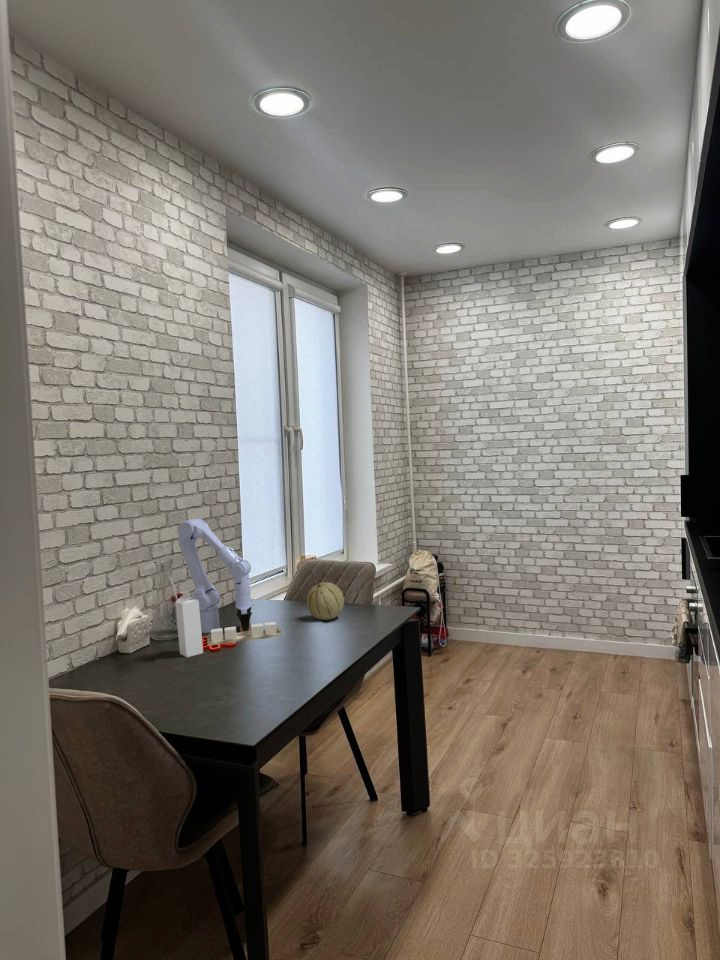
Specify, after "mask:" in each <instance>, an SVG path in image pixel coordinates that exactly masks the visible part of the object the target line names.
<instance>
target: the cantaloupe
mask: <svg viewBox="0 0 720 960" xmlns="http://www.w3.org/2000/svg"><path fill="white" fill-rule="evenodd" d="M344 598H345V597H344V595H343V592H342V590H341V589H340V588H339V587H338V586H337V585H336V584H334V583H332V582H328V581H327V582H326V581H325V582H324V581H323V582H319V583H318V584H316V585H314V586H313V587H311V588H310V590H309V591H308V592H307V596H306V608H307V610H308V612H309V613H310V615H311V616H312V617H313V618H315V619H317V620H319V621H330V620H333V619H335V618H336V617H337V616H339V615H340V614H341V612H342V611H343V608H344V605H345V599H344Z"/></svg>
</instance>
